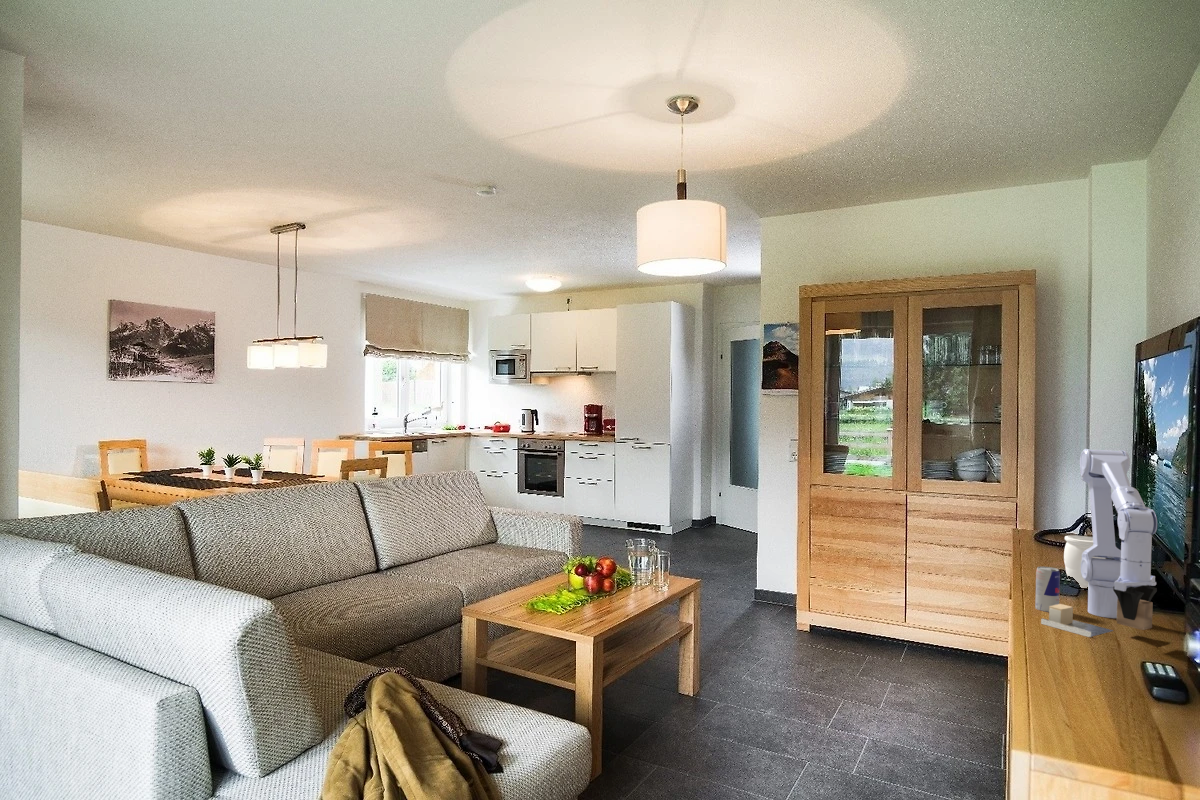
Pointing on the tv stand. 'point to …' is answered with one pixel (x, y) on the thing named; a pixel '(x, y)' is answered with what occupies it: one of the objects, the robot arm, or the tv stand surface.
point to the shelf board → (1077, 627)
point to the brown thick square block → (1137, 616)
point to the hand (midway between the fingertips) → (1134, 617)
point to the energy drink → (1047, 588)
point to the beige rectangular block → (1061, 614)
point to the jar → (1076, 556)
